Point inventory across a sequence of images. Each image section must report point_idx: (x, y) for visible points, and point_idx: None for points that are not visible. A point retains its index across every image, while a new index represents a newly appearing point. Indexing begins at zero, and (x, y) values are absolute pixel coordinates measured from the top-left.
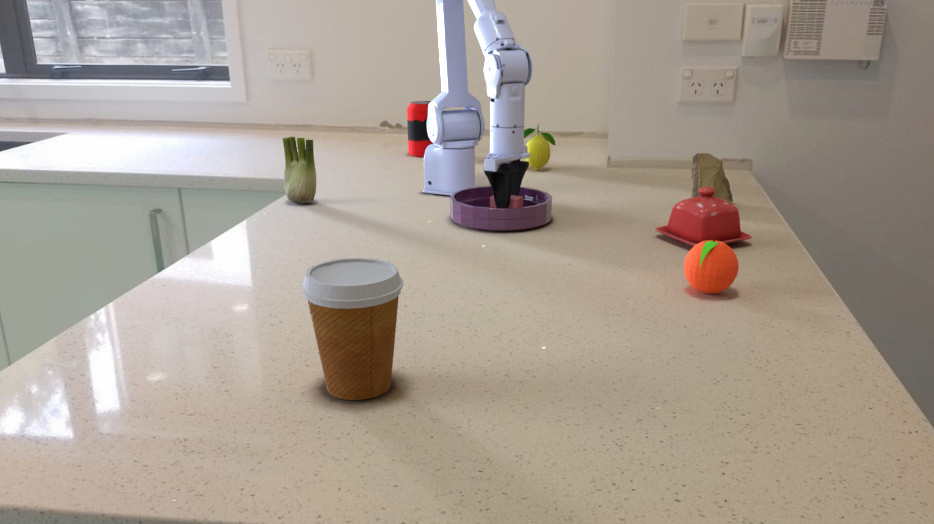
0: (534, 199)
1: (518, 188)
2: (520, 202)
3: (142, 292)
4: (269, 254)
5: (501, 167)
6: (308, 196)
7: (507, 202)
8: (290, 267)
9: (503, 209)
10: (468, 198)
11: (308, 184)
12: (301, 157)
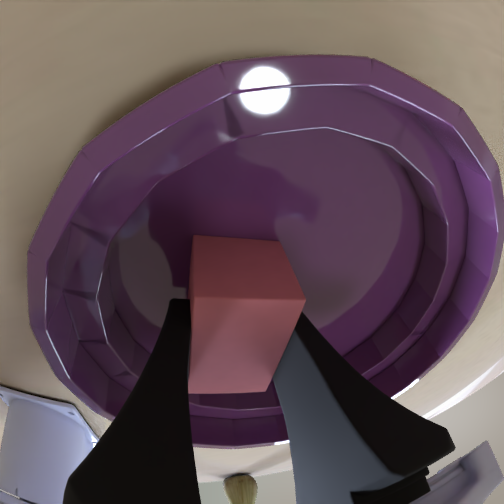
0: (69, 234)
1: (185, 361)
2: (243, 278)
3: (481, 387)
4: (438, 402)
5: (425, 484)
6: (249, 481)
7: (311, 323)
8: (477, 371)
9: (493, 279)
10: (201, 417)
11: (251, 494)
12: None
